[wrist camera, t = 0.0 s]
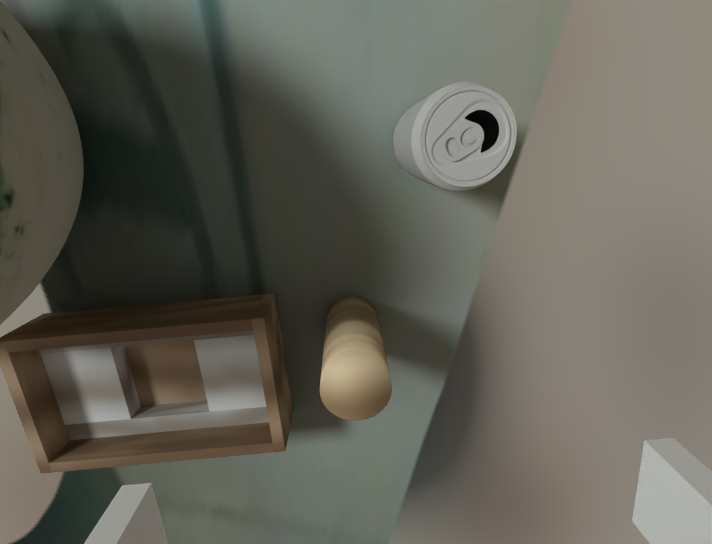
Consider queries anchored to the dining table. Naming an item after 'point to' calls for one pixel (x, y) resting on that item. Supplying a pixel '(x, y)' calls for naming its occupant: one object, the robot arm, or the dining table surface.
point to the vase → (33, 165)
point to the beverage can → (456, 136)
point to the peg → (354, 361)
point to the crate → (151, 382)
